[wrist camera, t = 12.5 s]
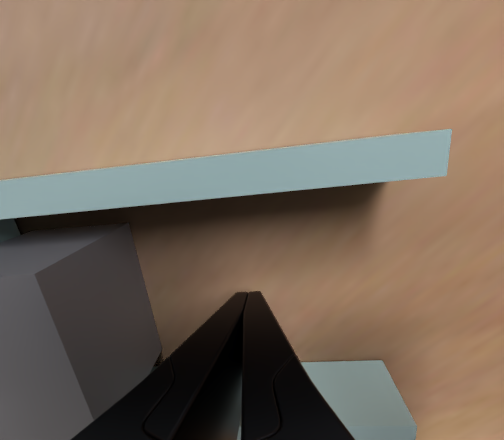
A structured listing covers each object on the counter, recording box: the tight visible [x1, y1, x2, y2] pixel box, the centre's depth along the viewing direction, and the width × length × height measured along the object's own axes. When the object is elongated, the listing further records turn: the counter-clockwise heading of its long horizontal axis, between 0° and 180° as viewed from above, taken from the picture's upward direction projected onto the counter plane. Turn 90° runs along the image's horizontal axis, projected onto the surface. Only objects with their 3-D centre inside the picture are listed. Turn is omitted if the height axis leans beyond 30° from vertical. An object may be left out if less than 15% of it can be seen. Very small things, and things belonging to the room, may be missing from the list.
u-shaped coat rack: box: [0, 129, 452, 440], centre depth 8 cm, size 15×10×3 cm, turn 96°
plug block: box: [0, 223, 162, 440], centre depth 8 cm, size 4×6×4 cm
